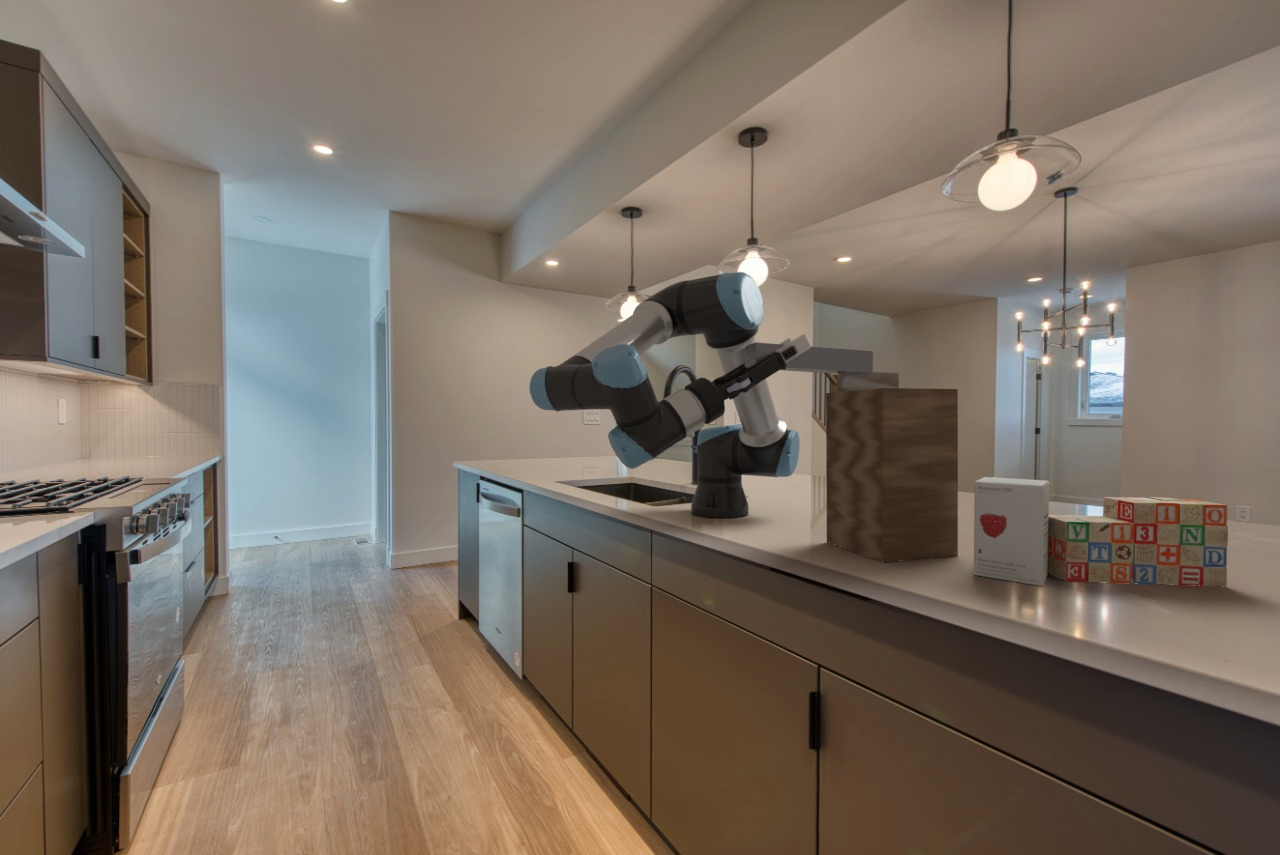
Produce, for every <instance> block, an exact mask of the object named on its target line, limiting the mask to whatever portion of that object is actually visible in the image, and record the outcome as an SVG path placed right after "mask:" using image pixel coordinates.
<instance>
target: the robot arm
mask: <svg viewBox="0 0 1280 855" xmlns="http://www.w3.org/2000/svg"><path fill="white" fill-rule="evenodd" d="M763 304H764V299H763V296H762V293H761V289H760V288H759V286H758V283H757V282H756V280H755V279H754V278H753V277H752V276H751V275H750V274H747V273H746V272H742V271H737V272H724V273H721V274H717V275H712V276H711V275H710V276H705V277H699V278H695V279H690V280H682V281H678V282H676V283H672V284H671V285H669V286H667V287H664V288H662V289H661V290H659V291H657V292H656V293H654V294H653V295H651V296H649V297H648V298H647V299H644V300H643V301H641V302H640V303H638V305H637V306H636V307H635V308H634V309H633V312H632V315H630V316H629V317H627V318H626V319H624V320H623V321H622V322H620V323H619V324H617V325H616V326H614V327H613V328H611V329H610V330H608V331H607V332H606V333H604V334H603V335H601V336H600V337H598V338H597V339H595V340H593V341H592V342H591V343H589V345H587V346H585V347H583V349H581V350H580V351H578V352H577V353H575V354H574V355H572V356H571V357H569V358H568V359H566V360H564V361H563V362H562V363H560V364H559V365H555V366H553V365H552V366H551V365H550V366H549V365H548V366H546V367H543V368H542V367H541V368H539V369H537V370H535V372H533V374H532V375H531V378H530V381H529V393H530V397H531V399H532V402H533V403H534V404H535V405H536V406H537V407H538V408H539V409H541V410H544V411H555V412H562V411H586V410H587V411H588V410H589V411H591V410H609V411H610V412H611V414H612V416H613V419H614V421H615V424H616V426H614V427H613V428H612V429H611V430H610V431H609V432H608V434H607V438H608V440H609V444H610V447H611V448H612V450H613V452H614V454H615V455H616V456H617V458H618V459H619V461H620V462H621V463H622V464H623V465H624V466H625V467H626V468H627V469H629V470H630V469H632V470H633V469H637V468H638V467H640V466H642V465H643V464H646V463H648V462H649V461H653V460H654V459H655V458H657V457H658V456H659V455H661V454H662V453H664V452H665V451H667V450H669V448H671V447H673V446H675V445H676V444H677V443H679V442H682V441H683V440H684V439H686V438H688V437H689V438H690V439H691V438H694V437H695V433H694V432H697V431H699V430H700V431H699V432H698V434H697V442H696V448H697V451H696V452H697V455H696V456H697V459H696V460H697V486H696V487H695V488H696V489H695V490H694V492H695V493H694V495H693V498H692V500H691V508H690V510H691V511H690V513H691V514H692V515H695V516H700V517H705V518H720V519H723V518H725V519H726V518H729V519H730V518H740V517H745V516H748V515H749V512H750V511H749V503H748V500H747V497H746V494H745V490H744V488H743V484H742V480H743V478H742V476H755V477H767V478H769V477H770V478H781V477H782V478H785V477H786V478H788V477H790V476H792V475H793V474H794V473H795V471H796V468H797V465H798V461H799V456H800V455H799V454H800V434H799V432H798V431H796V430H795V429H790V430H788V427H787V424H786V421H785V420H784V419H783V418H782V417H780V416H778V415H777V411H776V408H775V405H774V402H773V398H772V395H771V391H770V387H769V384H768V380H767V379H768V378H769V377H771V376H772V375H774V374H776V373H777V372H779V371H785V369H786V366H787V364H786V363H787V362H789V361H790V360H792V359H794V358H795V357H797V356H799V355H800V354H802V353H803V352H805V351H807V350H808V349H810V348H811V347H812V346H811V344H810V342H809V340H808V337H807V336H806V334H805V333H803V334H801V335H800V336H798V337H796V338H795V339H792V340H791V338H790V337H789V338H787V339H784V340H783V341H781V342H779V344H783V345H784V346H783V347H781V348H779V349H778V350H776V351H774V353H773V354H772V355H770V356H769V357H767V358H765V359H763V360H761V361H760V362H758V363H756V364H754V365H752V366H751V367H749V368H745V346H746V345H749V344H753V343H756V342H757V341H756V338H755V337H756V336H757V333H758V332H759V330H760V328H759V327H760V325H762V323H763V321H764V316H765V314H764V313H765V309H764V307H763ZM695 335H703V337H704V339H705V343H706V345H707V346H708V347H709V348H711V350H715V351H716V353H717V356H718V359H719V361H720V362H719V363H720V365H721V368H722V370H723V371H722V372H723V373H724V374H723V375H722V376H719V377H718V376H717V377H716V378H715V379H714V380H712V381H711V380H710V379H708V378H705V377H699V378H697V379H696V380H694V381H692V382H690V383H689V384H687V385H685V386H684V388H680V389H678V390H676V391H674V392H673V393H671V394H670V395H668V396H666V397H665V398H662V400H661V401H658V398H657V395H656V392H655V390H654V388H653V385H652V382H651V379H650V376H649V374H648V369H647V367H646V365H645V364H644V363H643V361H642V358H641V356H642V355H643V354H645V353H646V352H647V351H648V350H649V349H651V348H652V347H653V346H654V345H663V343H665V342H667V341H668V340H669V339H672V338H678V337H682V336H683V337H684V336H695ZM780 369H782V370H780ZM728 399H729V401H731V400H732V401H733V403H734V407H735V410H736V412H737V415H738V418H739V421H740V424H729V425H722V426H721V425H720V426H714V427H707V428H704V427H705V425H709V424H711V423H712V422H714V421H716V420H718V419H719V418H721V417H722V416H723V415H724V414H725V412H726V406H725V400H728ZM702 428H703V429H702Z"/></svg>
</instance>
